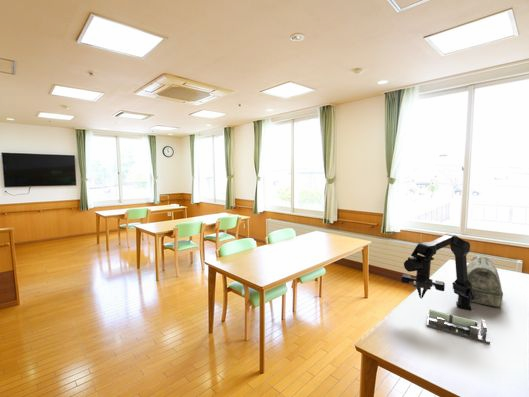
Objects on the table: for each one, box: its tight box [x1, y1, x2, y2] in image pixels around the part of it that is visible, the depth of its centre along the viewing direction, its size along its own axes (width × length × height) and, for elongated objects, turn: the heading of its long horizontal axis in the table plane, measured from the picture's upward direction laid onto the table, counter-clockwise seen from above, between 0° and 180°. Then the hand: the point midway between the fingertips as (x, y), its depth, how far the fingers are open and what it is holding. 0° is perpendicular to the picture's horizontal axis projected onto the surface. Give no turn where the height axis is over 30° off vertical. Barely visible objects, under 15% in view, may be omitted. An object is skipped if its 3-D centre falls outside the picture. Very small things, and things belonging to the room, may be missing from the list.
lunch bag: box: [467, 255, 504, 308], centre depth 161 cm, size 26×18×22 cm
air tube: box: [428, 309, 475, 328], centre depth 132 cm, size 4×18×4 cm, turn 56°
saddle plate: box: [426, 311, 491, 345], centre depth 131 cm, size 12×24×6 cm, turn 56°
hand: (421, 298), depth 138 cm, fingers closed
